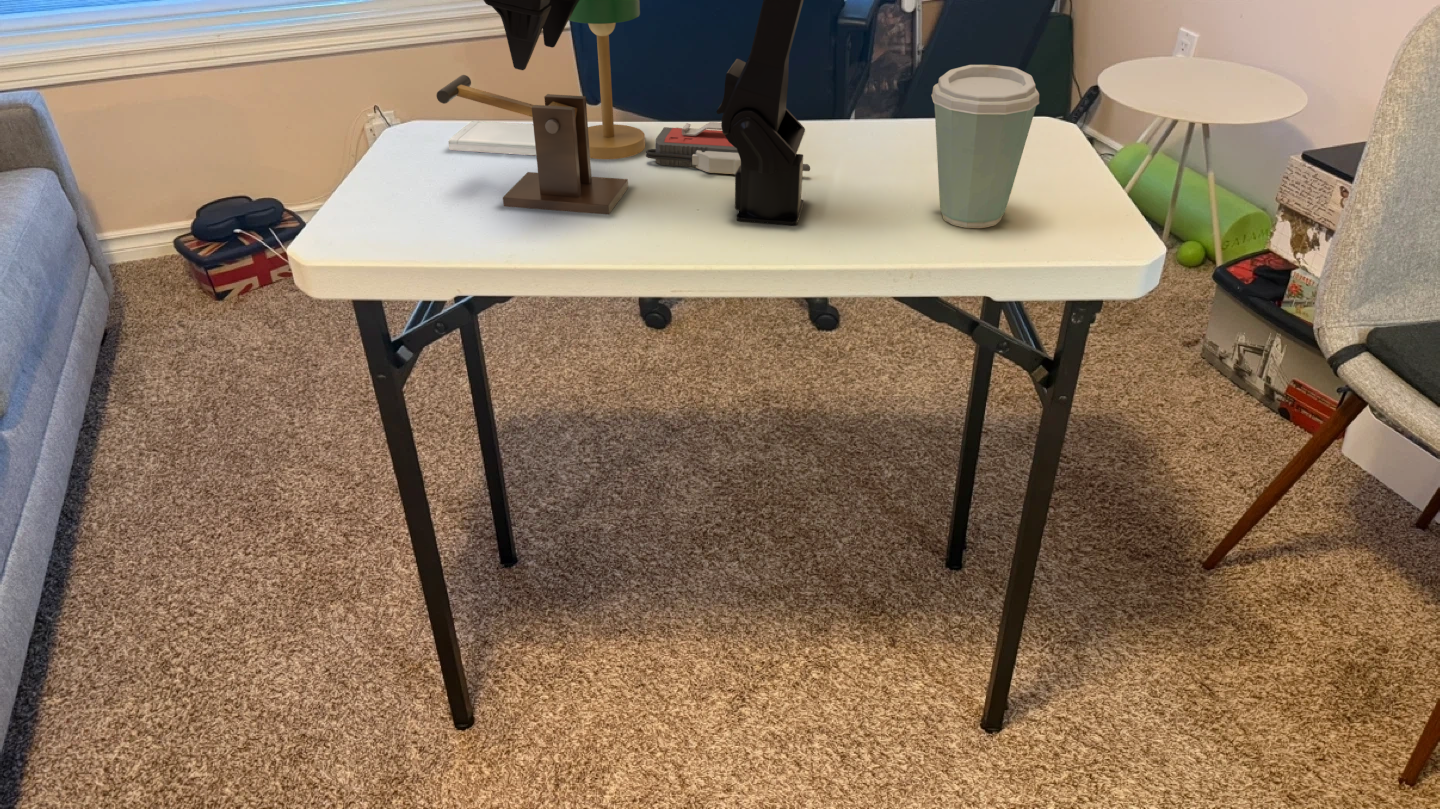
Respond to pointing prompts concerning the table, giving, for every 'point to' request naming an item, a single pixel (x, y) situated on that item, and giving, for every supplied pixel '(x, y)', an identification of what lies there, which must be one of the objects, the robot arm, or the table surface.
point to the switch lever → (485, 97)
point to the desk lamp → (609, 78)
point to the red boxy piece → (697, 149)
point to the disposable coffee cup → (980, 139)
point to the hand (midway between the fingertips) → (535, 57)
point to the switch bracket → (564, 164)
